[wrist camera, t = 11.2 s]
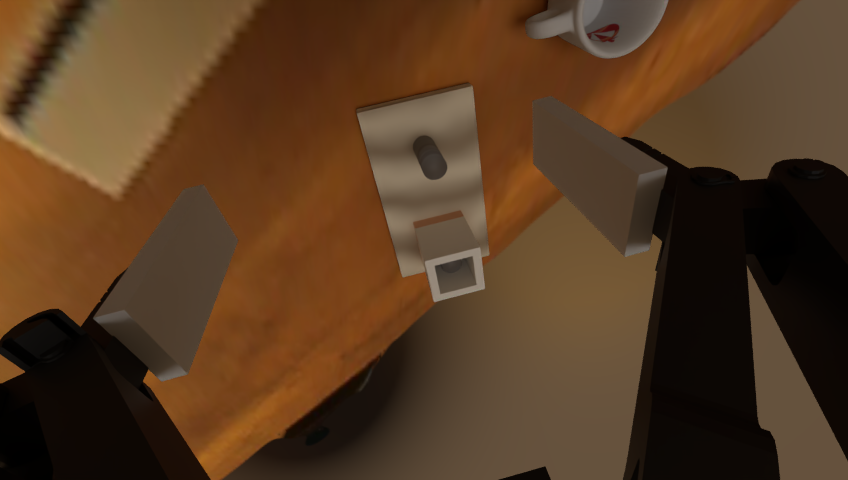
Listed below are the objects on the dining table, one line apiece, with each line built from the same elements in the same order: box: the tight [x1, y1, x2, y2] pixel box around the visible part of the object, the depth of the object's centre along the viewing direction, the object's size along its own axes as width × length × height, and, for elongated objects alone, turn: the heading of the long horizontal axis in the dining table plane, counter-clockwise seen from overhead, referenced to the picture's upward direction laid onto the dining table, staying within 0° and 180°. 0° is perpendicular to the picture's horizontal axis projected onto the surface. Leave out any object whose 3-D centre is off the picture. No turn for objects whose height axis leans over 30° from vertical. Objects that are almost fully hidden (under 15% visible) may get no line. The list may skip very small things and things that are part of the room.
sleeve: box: [413, 210, 485, 302], centre depth 44 cm, size 6×6×8 cm
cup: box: [525, 0, 668, 58], centre depth 34 cm, size 11×8×8 cm
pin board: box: [356, 83, 489, 277], centre depth 42 cm, size 22×12×8 cm, turn 10°
